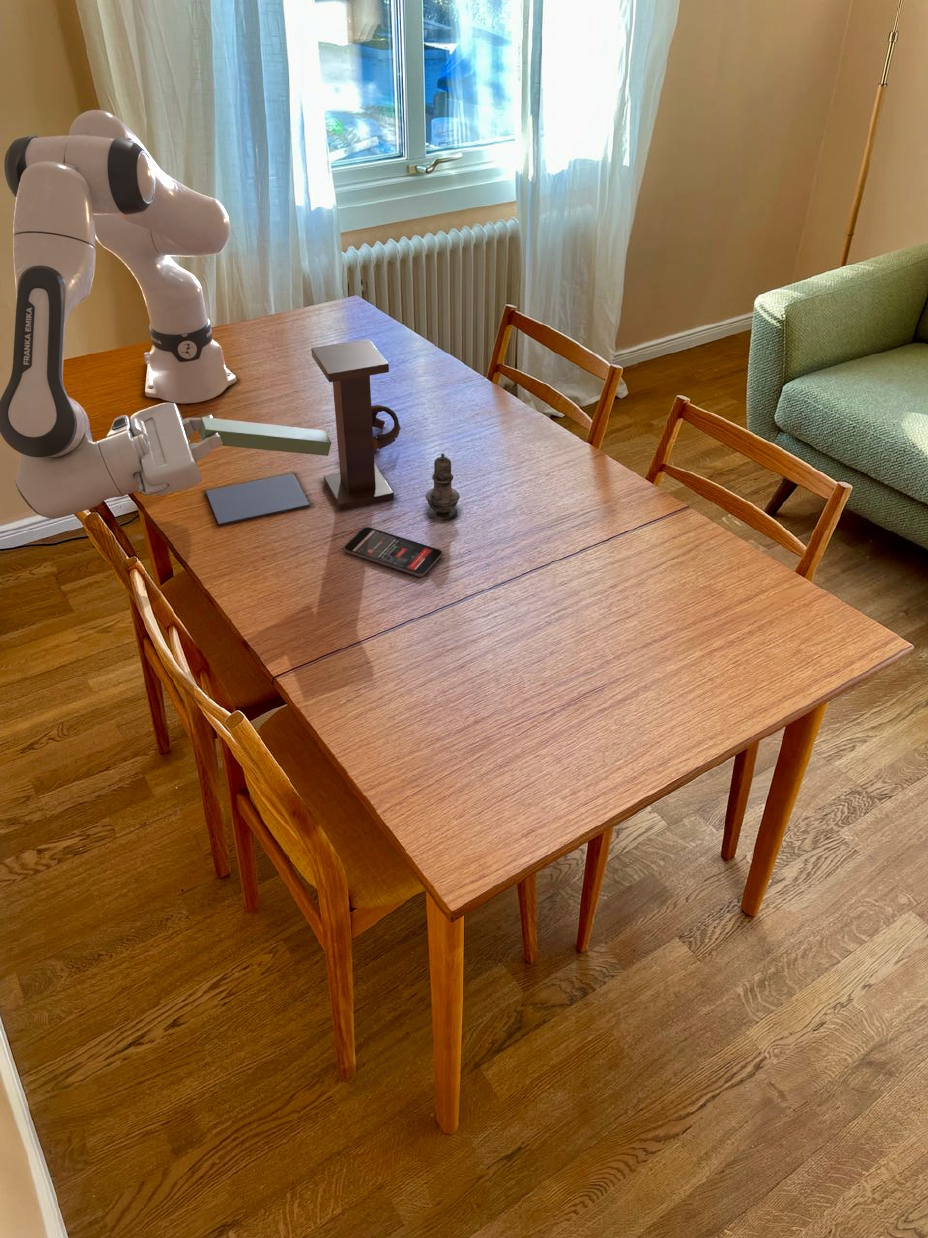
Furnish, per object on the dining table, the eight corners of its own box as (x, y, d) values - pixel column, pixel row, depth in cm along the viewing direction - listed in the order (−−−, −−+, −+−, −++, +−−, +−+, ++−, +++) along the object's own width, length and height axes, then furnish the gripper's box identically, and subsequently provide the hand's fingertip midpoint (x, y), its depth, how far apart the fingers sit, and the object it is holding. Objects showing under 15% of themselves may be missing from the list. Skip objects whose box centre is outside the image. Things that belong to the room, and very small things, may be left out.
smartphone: (422, 575, 150) (342, 548, 155) (422, 578, 151) (342, 552, 156) (443, 550, 155) (365, 525, 160) (443, 554, 156) (365, 529, 161)
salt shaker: (447, 526, 162) (448, 466, 154) (419, 515, 164) (418, 455, 157) (465, 510, 166) (467, 450, 158) (437, 499, 168) (437, 440, 160)
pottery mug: (397, 428, 188) (405, 405, 181) (391, 468, 184) (399, 446, 177) (337, 414, 186) (343, 390, 178) (330, 455, 182) (336, 432, 175)
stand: (323, 482, 172) (311, 347, 155) (376, 471, 175) (369, 338, 158) (340, 511, 165) (328, 373, 148) (394, 499, 168) (388, 363, 151)
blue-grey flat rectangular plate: (205, 492, 169) (205, 490, 169) (293, 474, 174) (293, 472, 173) (218, 525, 161) (218, 523, 161) (309, 506, 166) (309, 504, 166)
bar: (198, 430, 146) (201, 416, 144) (321, 443, 155) (325, 430, 154) (203, 443, 143) (205, 429, 142) (328, 456, 153) (331, 442, 151)
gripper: (130, 481, 133) (222, 446, 135) (114, 412, 147) (198, 381, 149) (148, 515, 138) (238, 480, 140) (131, 445, 152) (213, 414, 154)
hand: (217, 429), depth 145 cm, fingers closed on bar, 4 cm apart
